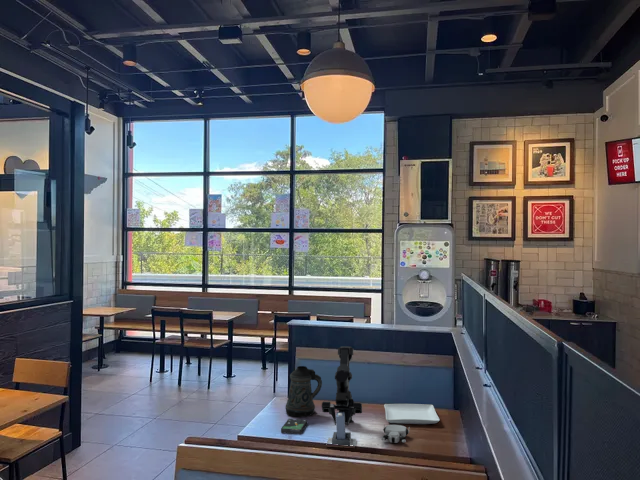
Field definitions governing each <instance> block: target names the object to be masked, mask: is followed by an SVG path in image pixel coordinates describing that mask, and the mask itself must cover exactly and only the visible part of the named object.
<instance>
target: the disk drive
mask: <svg viewBox="0 0 640 480" xmlns="http://www.w3.org/2000/svg"><path fill="white" fill-rule="evenodd" d="M308 422H309V421H308V419H300V418H296V419H294V418H288V419H287V420H286V422H284V424H283V425H282V427H281V428H280V434H295V435H301V434H302V433H303V432H304V430H305V429H306V427H307V426H308V424H309V423H308Z"/></svg>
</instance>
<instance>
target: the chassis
mask: <svg viewBox="0 0 640 480" xmlns="http://www.w3.org/2000/svg"><path fill="white" fill-rule="evenodd" d="M345 432H346V439H337V431H333V434H332V437H328V439H327V443H332V444H338V445H348V446H350V445H353V446H357V438H352V432H347V431H345ZM327 443H326V444H327Z"/></svg>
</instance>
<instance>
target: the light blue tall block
mask: <svg viewBox="0 0 640 480" xmlns="http://www.w3.org/2000/svg"><path fill="white" fill-rule="evenodd" d="M335 415H336V425H335V426H336V432H337V439H346V432H347V431H346V424H345V412H339V411H337V412H336V413H335Z"/></svg>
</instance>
